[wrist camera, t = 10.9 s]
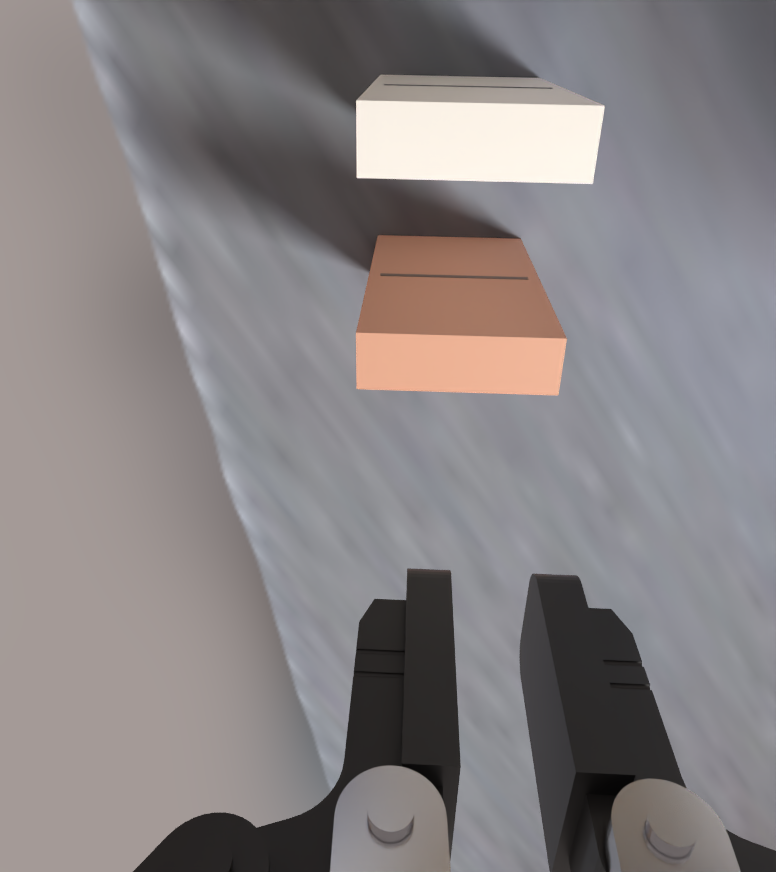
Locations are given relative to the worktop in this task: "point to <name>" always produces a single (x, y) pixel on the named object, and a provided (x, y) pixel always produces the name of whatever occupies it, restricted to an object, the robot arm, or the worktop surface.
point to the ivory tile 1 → (476, 130)
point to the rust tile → (457, 319)
